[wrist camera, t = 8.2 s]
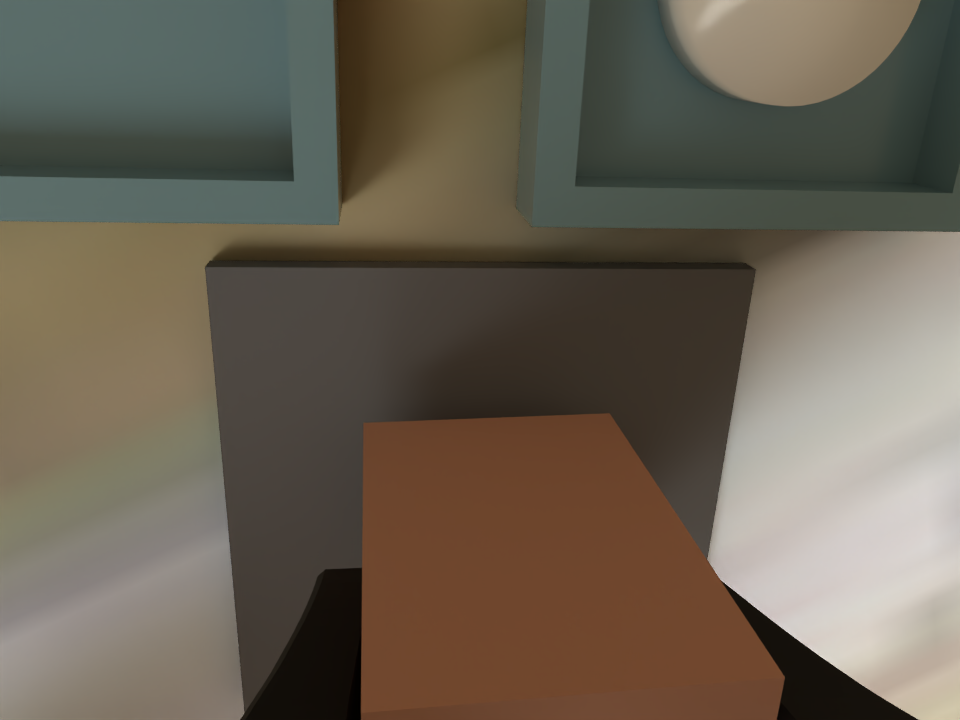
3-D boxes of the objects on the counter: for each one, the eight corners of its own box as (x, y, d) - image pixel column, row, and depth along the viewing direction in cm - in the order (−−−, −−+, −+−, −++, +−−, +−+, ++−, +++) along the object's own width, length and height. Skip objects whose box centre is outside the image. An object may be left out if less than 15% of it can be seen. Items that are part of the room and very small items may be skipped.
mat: (679, 671, 17) (686, 685, 17) (248, 699, 16) (244, 715, 16) (745, 263, 14) (755, 269, 14) (210, 260, 13) (204, 267, 12)
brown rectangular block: (596, 612, 15) (736, 957, 9) (370, 628, 14) (374, 1003, 9) (613, 413, 13) (792, 676, 8) (363, 422, 13) (361, 713, 7)
